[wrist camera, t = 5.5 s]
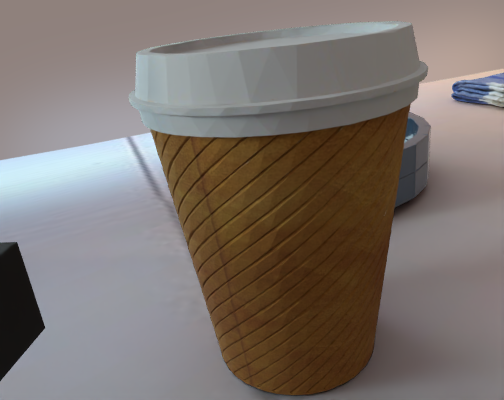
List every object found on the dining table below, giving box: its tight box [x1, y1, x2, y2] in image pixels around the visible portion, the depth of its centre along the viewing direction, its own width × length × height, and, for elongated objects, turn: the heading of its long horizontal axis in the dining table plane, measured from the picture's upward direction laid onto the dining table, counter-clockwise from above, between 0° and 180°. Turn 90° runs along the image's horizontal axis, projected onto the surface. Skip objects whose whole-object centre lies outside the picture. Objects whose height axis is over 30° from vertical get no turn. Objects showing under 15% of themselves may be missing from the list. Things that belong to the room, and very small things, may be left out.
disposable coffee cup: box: [129, 21, 428, 395], centre depth 17 cm, size 10×10×12 cm
